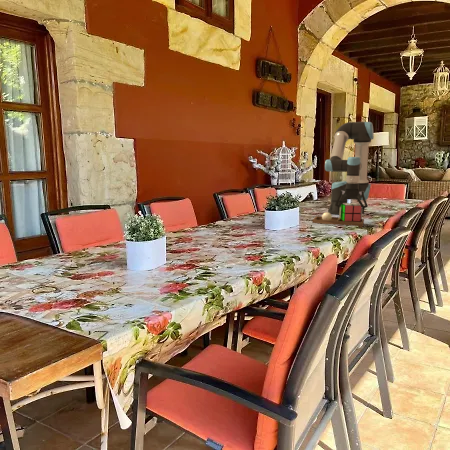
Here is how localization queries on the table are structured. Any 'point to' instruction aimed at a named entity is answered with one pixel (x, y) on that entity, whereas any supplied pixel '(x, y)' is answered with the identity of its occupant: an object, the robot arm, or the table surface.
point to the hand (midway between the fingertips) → (350, 218)
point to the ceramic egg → (326, 216)
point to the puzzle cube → (351, 212)
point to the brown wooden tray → (337, 221)
